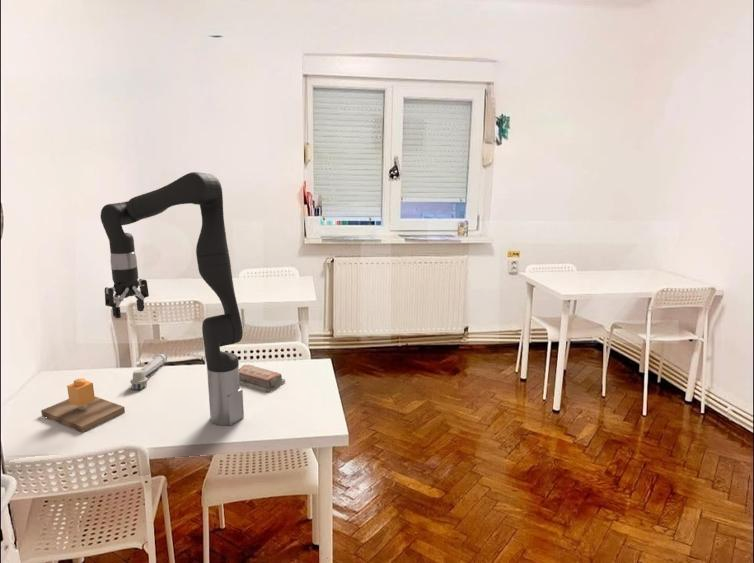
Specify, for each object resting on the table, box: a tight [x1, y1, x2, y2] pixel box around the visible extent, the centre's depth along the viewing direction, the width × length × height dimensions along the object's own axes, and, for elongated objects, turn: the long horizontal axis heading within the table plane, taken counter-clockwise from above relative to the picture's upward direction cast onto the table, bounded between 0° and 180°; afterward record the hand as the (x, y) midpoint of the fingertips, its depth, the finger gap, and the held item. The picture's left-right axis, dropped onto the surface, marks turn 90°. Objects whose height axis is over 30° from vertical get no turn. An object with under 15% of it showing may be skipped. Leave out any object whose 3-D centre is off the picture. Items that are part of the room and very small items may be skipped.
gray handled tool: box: [129, 353, 168, 390], centre depth 192 cm, size 5×7×25 cm
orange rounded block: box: [66, 377, 96, 406], centre depth 162 cm, size 5×5×7 cm
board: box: [41, 396, 126, 433], centre depth 164 cm, size 20×14×2 cm
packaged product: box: [239, 364, 286, 393], centre depth 189 cm, size 18×5×10 cm
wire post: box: [79, 404, 87, 410], centre depth 163 cm, size 2×2×7 cm
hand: (129, 314), depth 172 cm, fingers open, 8 cm apart
